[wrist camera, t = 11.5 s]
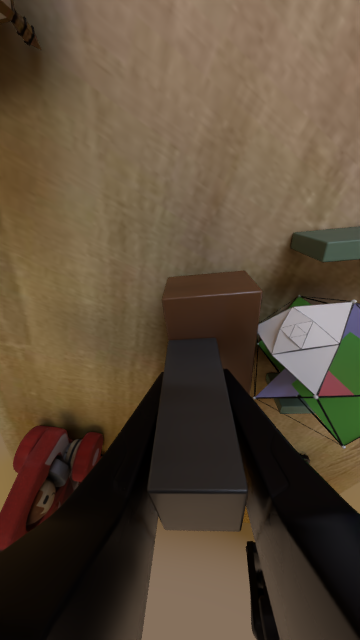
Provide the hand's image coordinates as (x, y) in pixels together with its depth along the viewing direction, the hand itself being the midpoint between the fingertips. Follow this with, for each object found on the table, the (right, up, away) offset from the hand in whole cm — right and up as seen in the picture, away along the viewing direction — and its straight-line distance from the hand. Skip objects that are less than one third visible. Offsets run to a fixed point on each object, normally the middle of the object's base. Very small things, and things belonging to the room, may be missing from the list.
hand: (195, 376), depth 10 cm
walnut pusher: (0, +2, +3) cm, 4 cm away
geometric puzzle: (+7, +2, +4) cm, 8 cm away
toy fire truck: (-13, -11, +13) cm, 22 cm away
